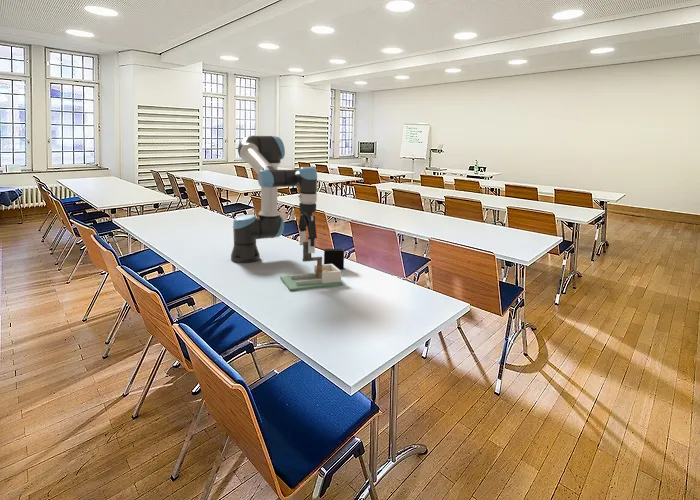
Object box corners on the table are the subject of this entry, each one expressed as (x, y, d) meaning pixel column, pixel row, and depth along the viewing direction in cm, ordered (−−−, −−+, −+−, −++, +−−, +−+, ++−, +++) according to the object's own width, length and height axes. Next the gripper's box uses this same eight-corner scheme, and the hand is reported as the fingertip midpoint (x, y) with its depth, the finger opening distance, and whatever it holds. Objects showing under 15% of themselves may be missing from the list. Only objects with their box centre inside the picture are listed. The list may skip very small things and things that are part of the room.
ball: (329, 271, 209) (325, 278, 209) (322, 267, 207) (318, 274, 207) (332, 273, 206) (328, 281, 206) (325, 270, 204) (321, 277, 204)
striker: (301, 277, 205) (301, 241, 201) (319, 275, 209) (319, 240, 204) (304, 281, 200) (305, 244, 196) (323, 279, 204) (324, 243, 199)
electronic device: (323, 267, 228) (324, 248, 225) (343, 267, 229) (343, 248, 226) (324, 269, 224) (324, 250, 221) (343, 269, 225) (344, 250, 222)
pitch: (280, 278, 208) (280, 266, 206) (329, 273, 217) (330, 262, 216) (289, 291, 192) (289, 277, 190) (343, 285, 201) (343, 273, 200)
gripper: (292, 198, 204) (291, 242, 210) (308, 208, 182) (307, 257, 188) (307, 197, 207) (306, 241, 213) (325, 207, 185) (323, 255, 191)
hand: (306, 248), depth 200 cm, fingers open, 13 cm apart
